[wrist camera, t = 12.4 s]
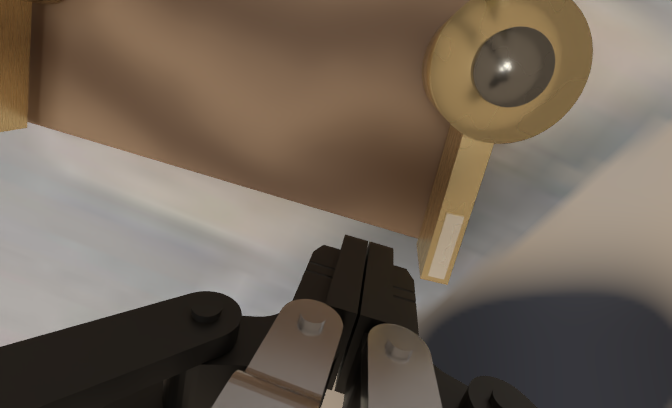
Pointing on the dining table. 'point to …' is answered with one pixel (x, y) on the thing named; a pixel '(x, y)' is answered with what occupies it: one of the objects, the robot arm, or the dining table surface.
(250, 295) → the dining table surface
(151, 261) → the dining table surface
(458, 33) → the dial
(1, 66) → the dial
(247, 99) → the levelling plate
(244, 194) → the dining table surface
